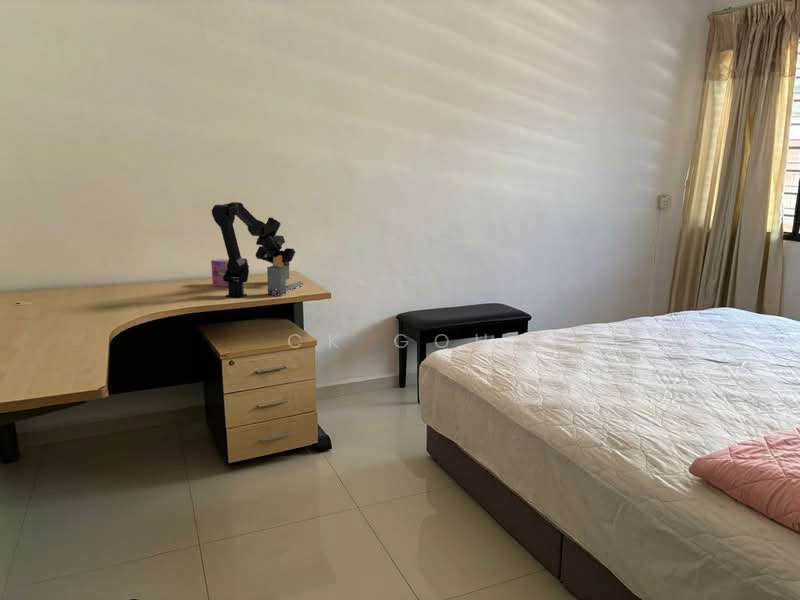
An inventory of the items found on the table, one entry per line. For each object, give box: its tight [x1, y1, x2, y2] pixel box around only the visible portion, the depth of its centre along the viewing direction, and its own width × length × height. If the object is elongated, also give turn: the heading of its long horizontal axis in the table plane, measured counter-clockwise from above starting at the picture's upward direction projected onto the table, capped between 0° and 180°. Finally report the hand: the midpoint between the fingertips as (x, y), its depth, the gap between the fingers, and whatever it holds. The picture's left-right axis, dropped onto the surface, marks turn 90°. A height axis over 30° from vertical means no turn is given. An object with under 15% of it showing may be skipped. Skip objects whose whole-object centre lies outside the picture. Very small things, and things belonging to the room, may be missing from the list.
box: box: [210, 258, 237, 287], centre depth 274 cm, size 10×6×12 cm, turn 73°
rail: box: [271, 281, 304, 296], centre depth 266 cm, size 24×2×2 cm, turn 161°
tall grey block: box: [266, 265, 287, 296], centre depth 256 cm, size 4×6×12 cm
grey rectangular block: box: [272, 256, 290, 281], centre depth 282 cm, size 4×6×12 cm
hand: (282, 264), depth 283 cm, fingers closed on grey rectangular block, 6 cm apart
